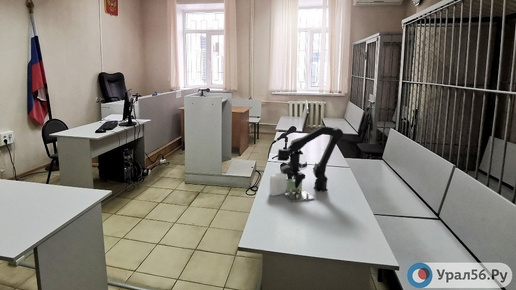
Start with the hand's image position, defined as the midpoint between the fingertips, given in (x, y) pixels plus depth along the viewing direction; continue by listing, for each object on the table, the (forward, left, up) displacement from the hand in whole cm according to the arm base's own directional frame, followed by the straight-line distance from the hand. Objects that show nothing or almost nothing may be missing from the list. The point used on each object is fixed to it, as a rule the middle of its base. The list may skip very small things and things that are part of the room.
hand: (292, 185), depth 201 cm
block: (0, 0, -2) cm, 2 cm away
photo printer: (+13, +6, -2) cm, 14 cm away
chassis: (+3, +14, -2) cm, 14 cm away
